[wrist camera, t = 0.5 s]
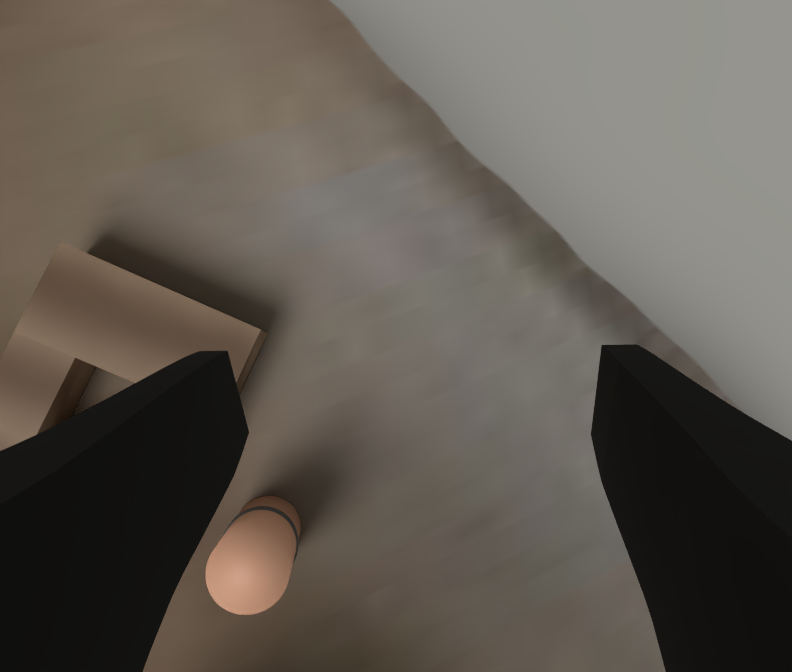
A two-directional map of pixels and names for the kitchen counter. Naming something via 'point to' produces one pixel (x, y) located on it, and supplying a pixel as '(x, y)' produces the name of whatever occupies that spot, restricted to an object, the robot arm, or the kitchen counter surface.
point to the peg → (254, 556)
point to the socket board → (103, 339)
